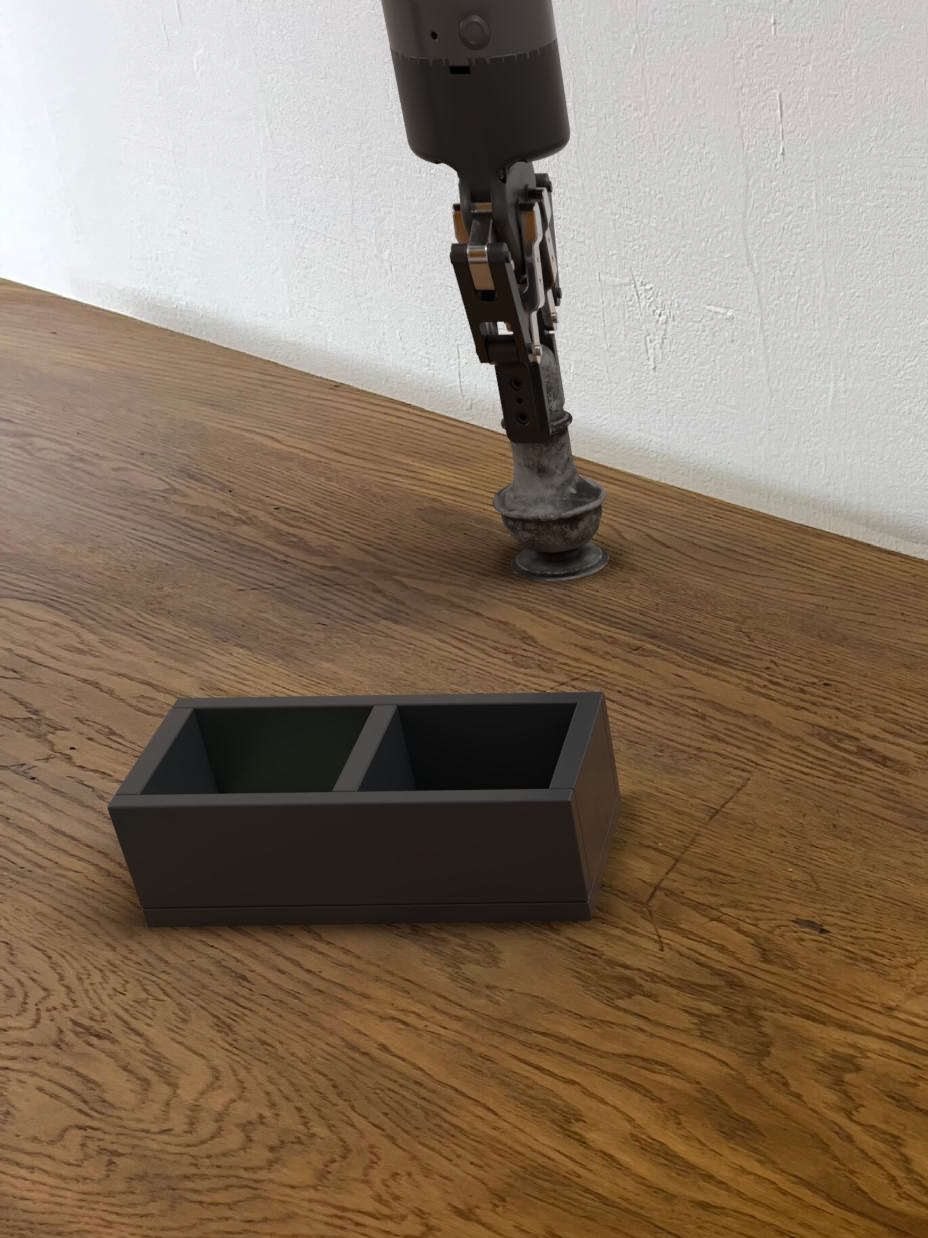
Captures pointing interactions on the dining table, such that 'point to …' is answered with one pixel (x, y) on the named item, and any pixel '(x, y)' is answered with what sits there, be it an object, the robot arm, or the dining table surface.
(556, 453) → the salt shaker
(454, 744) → the divided open box
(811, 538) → the dining table surface
